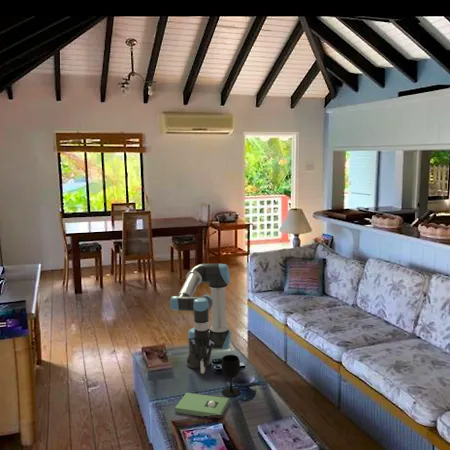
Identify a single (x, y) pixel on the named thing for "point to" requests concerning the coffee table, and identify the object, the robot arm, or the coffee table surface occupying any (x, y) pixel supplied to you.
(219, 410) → the putting mat
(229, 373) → the wine glass
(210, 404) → the ball
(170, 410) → the coffee table surface
